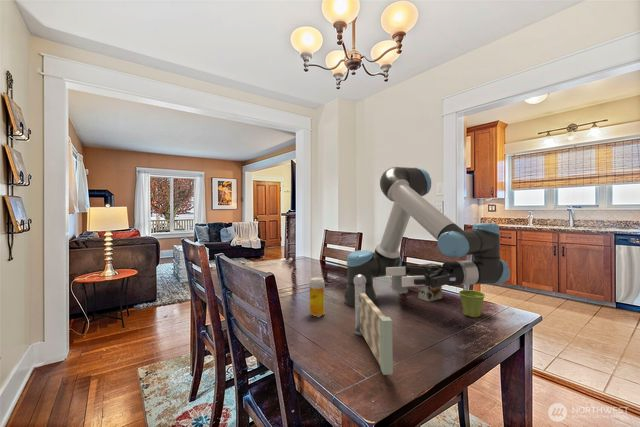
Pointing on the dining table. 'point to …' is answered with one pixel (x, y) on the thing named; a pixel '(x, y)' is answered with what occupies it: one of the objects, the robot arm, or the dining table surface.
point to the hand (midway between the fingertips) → (393, 276)
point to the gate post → (359, 288)
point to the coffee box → (430, 288)
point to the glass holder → (398, 282)
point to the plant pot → (472, 302)
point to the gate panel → (377, 333)
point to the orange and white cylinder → (317, 296)
